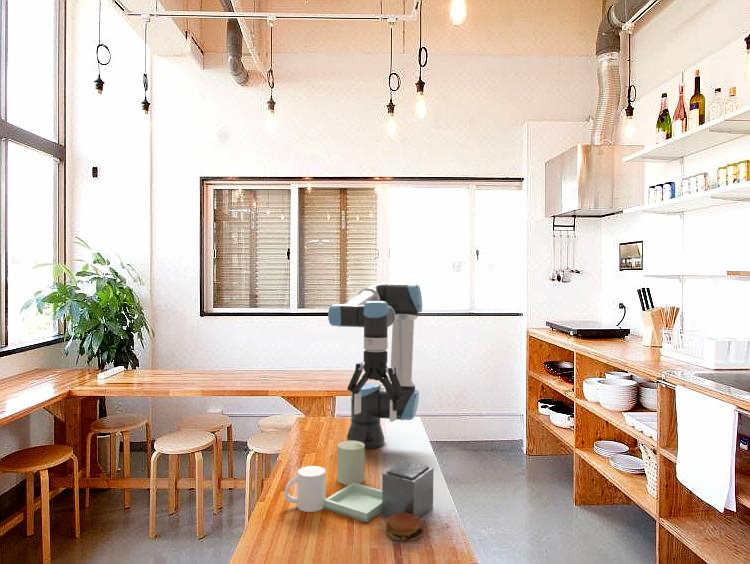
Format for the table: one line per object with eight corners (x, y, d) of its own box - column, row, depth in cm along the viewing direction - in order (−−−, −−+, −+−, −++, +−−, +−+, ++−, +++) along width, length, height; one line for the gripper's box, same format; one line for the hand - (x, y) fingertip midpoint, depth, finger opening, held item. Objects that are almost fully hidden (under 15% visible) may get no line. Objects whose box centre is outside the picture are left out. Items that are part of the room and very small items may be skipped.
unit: (403, 499, 156) (404, 458, 156) (433, 508, 151) (434, 465, 151) (382, 516, 146) (382, 471, 146) (413, 525, 141) (413, 479, 140)
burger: (378, 531, 138) (378, 514, 137) (406, 522, 143) (406, 505, 143) (401, 548, 129) (401, 530, 129) (429, 537, 135) (430, 520, 135)
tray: (353, 490, 163) (353, 482, 163) (394, 502, 155) (394, 493, 155) (323, 508, 150) (323, 500, 150) (366, 522, 142) (366, 513, 142)
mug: (326, 475, 148) (283, 477, 146) (326, 511, 148) (283, 513, 147) (325, 465, 156) (285, 466, 155) (325, 498, 156) (284, 500, 155)
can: (361, 486, 166) (361, 449, 165) (333, 483, 168) (333, 447, 167) (367, 475, 175) (367, 440, 174) (340, 472, 177) (341, 438, 176)
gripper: (337, 347, 167) (336, 413, 168) (403, 355, 153) (402, 426, 154) (351, 345, 174) (350, 408, 174) (415, 352, 159) (415, 420, 160)
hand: (374, 417), depth 164 cm, fingers open, 13 cm apart
